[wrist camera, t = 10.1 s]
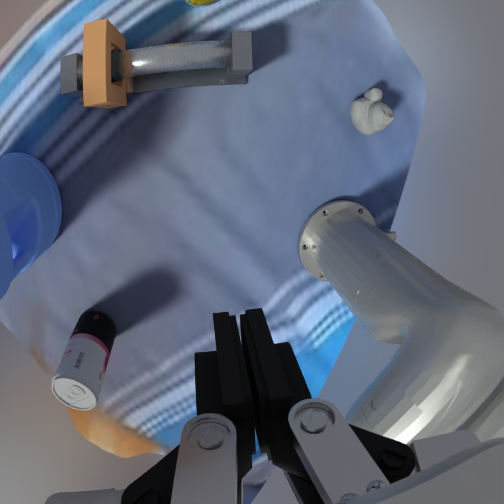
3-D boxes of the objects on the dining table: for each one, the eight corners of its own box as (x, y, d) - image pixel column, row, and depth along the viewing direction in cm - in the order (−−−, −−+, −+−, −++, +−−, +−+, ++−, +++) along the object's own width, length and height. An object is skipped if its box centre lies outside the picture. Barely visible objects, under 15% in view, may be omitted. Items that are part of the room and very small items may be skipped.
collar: (125, 38, 29) (106, 18, 21) (126, 105, 33) (106, 101, 25) (107, 42, 29) (84, 24, 21) (108, 108, 32) (83, 106, 24)
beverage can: (124, 328, 46) (106, 399, 32) (102, 347, 46) (82, 416, 33) (93, 301, 43) (63, 369, 29) (72, 323, 44) (42, 389, 30)
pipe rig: (244, 40, 32) (253, 24, 26) (245, 84, 35) (255, 76, 28) (80, 60, 29) (58, 51, 23) (80, 103, 32) (58, 101, 25)
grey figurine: (341, 129, 39) (370, 133, 31) (348, 83, 36) (378, 79, 29) (374, 137, 40) (407, 143, 33) (381, 94, 37) (414, 93, 30)
